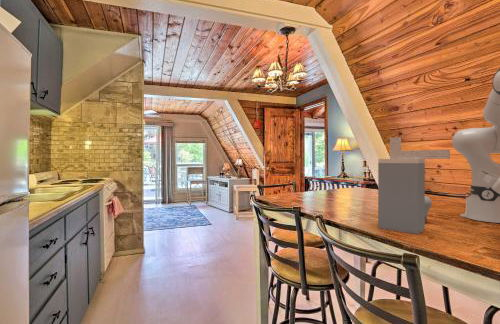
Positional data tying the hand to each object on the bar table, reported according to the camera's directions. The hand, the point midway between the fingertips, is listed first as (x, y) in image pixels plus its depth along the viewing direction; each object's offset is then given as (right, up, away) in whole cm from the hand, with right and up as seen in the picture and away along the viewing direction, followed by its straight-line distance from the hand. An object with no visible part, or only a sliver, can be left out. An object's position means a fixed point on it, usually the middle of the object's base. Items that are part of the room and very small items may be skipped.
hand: (479, 173), depth 86 cm
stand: (-16, -21, +16) cm, 31 cm away
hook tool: (-12, +5, +12) cm, 17 cm away
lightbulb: (-2, -21, +25) cm, 33 cm away
